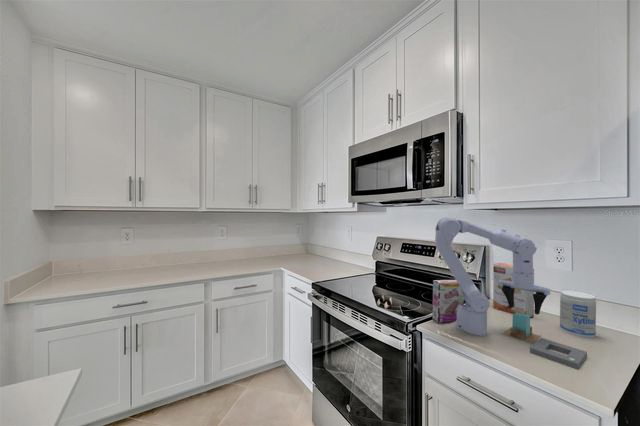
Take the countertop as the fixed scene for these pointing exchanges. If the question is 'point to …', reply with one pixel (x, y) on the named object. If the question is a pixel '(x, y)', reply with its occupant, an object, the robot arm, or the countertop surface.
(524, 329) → the plug
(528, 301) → the cracker box
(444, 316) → the candy bar box
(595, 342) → the countertop surface
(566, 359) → the port
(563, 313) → the supplement tub
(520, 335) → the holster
